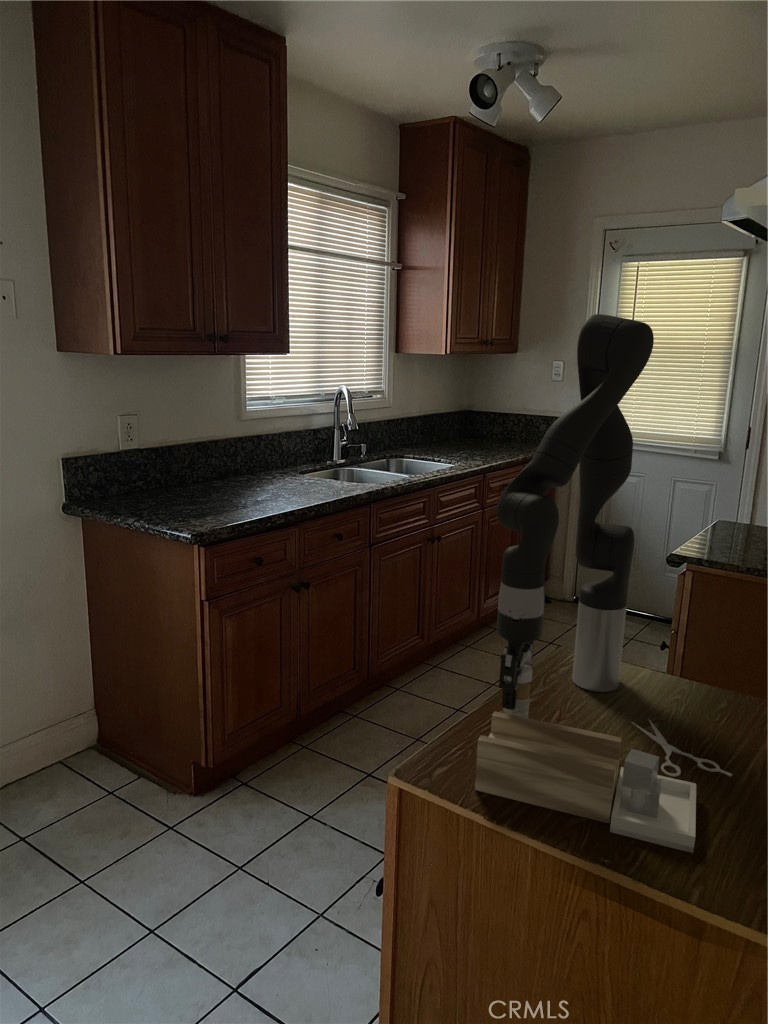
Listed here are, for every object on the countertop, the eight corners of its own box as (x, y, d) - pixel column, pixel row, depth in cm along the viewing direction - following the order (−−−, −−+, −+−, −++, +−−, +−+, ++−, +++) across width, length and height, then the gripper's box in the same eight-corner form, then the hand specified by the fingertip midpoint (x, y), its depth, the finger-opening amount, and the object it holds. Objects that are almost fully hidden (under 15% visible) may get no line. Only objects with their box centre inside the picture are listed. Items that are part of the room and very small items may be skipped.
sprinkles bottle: (498, 732, 134) (503, 661, 131) (524, 733, 134) (530, 662, 131) (502, 745, 129) (507, 672, 127) (529, 746, 129) (534, 673, 127)
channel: (491, 758, 126) (494, 711, 124) (616, 787, 118) (621, 737, 116) (474, 789, 116) (477, 739, 115) (609, 823, 109) (614, 770, 107)
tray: (619, 781, 120) (621, 766, 119) (694, 798, 116) (696, 783, 115) (609, 831, 107) (611, 816, 107) (693, 853, 103) (695, 836, 103)
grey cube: (629, 772, 113) (631, 748, 113) (656, 781, 111) (659, 756, 111) (621, 785, 110) (624, 760, 109) (650, 794, 108) (652, 769, 107)
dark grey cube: (633, 773, 113) (661, 779, 112) (630, 796, 114) (658, 803, 113) (630, 786, 110) (659, 793, 108) (628, 811, 111) (657, 818, 109)
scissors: (673, 780, 120) (611, 719, 139) (673, 785, 120) (611, 723, 139) (733, 775, 122) (664, 715, 141) (732, 779, 122) (663, 719, 141)
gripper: (509, 592, 134) (503, 676, 138) (487, 618, 122) (482, 710, 125) (551, 598, 132) (545, 684, 135) (533, 626, 119) (527, 720, 122)
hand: (514, 697), depth 130 cm, fingers open, 8 cm apart
